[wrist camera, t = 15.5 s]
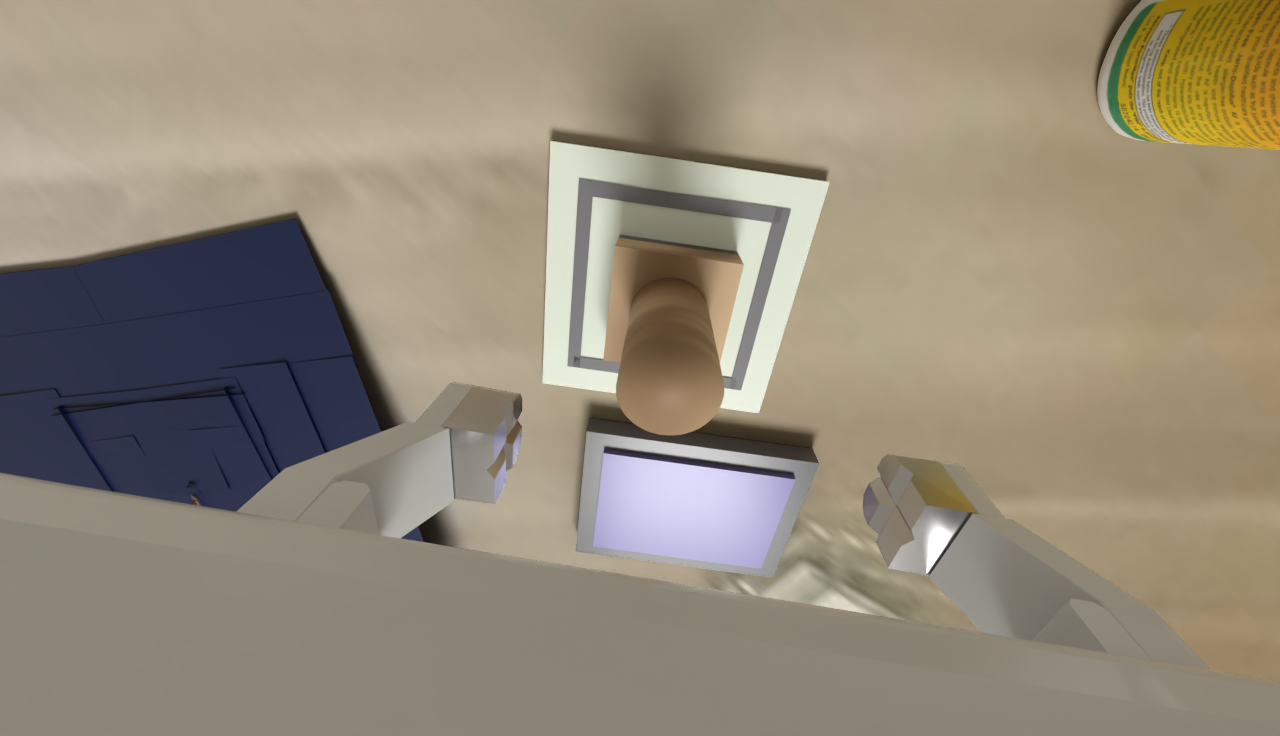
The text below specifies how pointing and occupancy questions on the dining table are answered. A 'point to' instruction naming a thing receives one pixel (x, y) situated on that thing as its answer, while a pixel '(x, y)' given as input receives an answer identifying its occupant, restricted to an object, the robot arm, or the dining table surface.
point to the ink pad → (690, 497)
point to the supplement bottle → (1195, 73)
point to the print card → (676, 212)
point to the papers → (178, 370)
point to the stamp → (670, 330)
